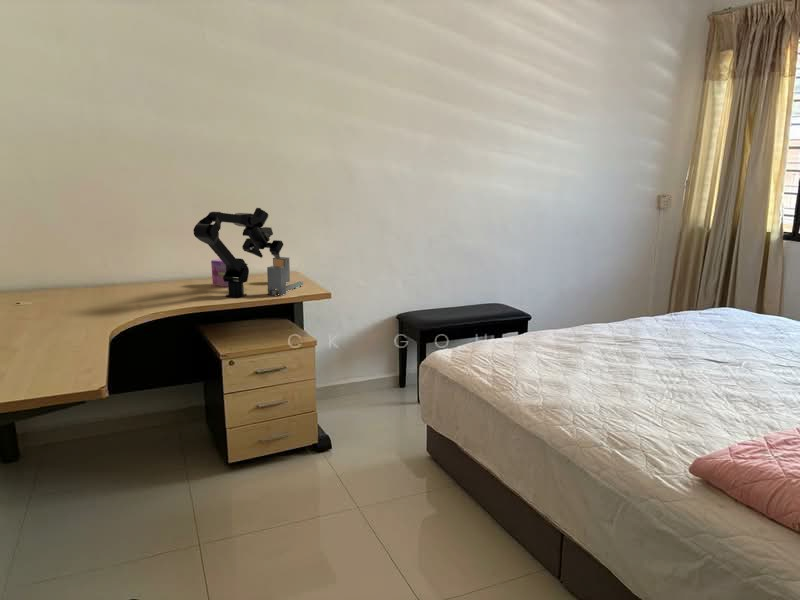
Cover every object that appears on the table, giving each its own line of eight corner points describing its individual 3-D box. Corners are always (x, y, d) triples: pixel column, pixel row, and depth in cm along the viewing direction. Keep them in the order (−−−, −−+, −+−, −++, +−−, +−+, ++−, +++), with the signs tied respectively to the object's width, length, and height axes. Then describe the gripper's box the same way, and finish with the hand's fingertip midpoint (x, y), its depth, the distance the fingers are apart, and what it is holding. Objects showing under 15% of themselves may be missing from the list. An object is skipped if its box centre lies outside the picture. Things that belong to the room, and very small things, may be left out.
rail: (276, 296, 255) (275, 291, 254) (271, 295, 256) (271, 291, 255) (303, 286, 277) (303, 281, 277) (299, 285, 278) (299, 281, 277)
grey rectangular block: (285, 284, 281) (284, 258, 278) (273, 283, 283) (272, 257, 280) (289, 282, 285) (289, 257, 282) (278, 281, 287) (277, 256, 284)
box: (212, 285, 274) (210, 260, 272) (219, 283, 280) (218, 258, 277) (232, 287, 271) (230, 261, 269) (239, 285, 277) (237, 259, 274)
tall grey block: (281, 296, 255) (280, 268, 252) (268, 295, 257) (267, 267, 254) (286, 294, 259) (285, 266, 256) (273, 293, 261) (272, 265, 258)
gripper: (281, 222, 262) (294, 245, 274) (245, 220, 269) (260, 243, 281) (270, 241, 256) (285, 264, 268) (234, 239, 263) (250, 261, 275)
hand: (270, 257), depth 273 cm, fingers open, 9 cm apart
